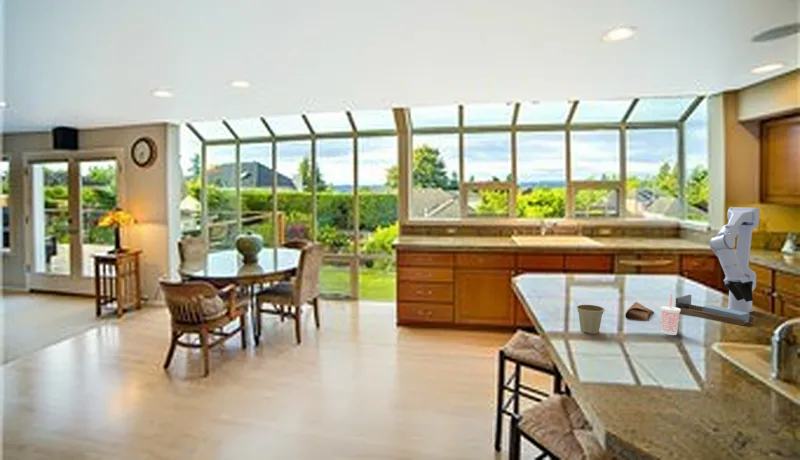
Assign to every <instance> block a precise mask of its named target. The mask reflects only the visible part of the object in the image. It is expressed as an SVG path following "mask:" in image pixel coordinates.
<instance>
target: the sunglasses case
mask: <svg viewBox="0 0 800 460" xmlns="http://www.w3.org/2000/svg"><path fill="white" fill-rule="evenodd" d="M654 312H655V311H653V310H652V309H649V308H648V307H645V306H644V305H643V304H642V303H639V302H634V303H633V304H632V305H631V306H630V307H629V308H628V310H627V311H626V312H625V315H624V316H625V319H627V320H636V321H641V322H649V318H650V317H651V316H652V315H653V314H654ZM650 315H651V316H650Z"/></svg>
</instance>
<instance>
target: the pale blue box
mask: <svg viewBox="0 0 800 460" xmlns="http://www.w3.org/2000/svg"><path fill="white" fill-rule="evenodd" d="M701 307H702V312H707V313H712V314H717V315H722V316H727V317H732V318H737V319H742V320H745V324H747V323H750V321H749V316H750V312H749V313H747V312H742V311H737V310H732V309H728V307H722V306H718V305H713V304H709V305H704V306H701Z"/></svg>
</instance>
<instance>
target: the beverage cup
mask: <svg viewBox="0 0 800 460" xmlns="http://www.w3.org/2000/svg"><path fill="white" fill-rule="evenodd" d="M669 298H670V299H669V306H667V305H664V306H660V311H661V333H662V334H664V335H670V336H676V335H677V334H678V327H679V322H680V321H679V319H680V311H681V309H680V308H677V307H676V306H673V305H672V302H673V293H670V297H669Z"/></svg>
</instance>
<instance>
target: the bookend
mask: <svg viewBox="0 0 800 460" xmlns="http://www.w3.org/2000/svg"><path fill="white" fill-rule="evenodd" d="M690 305H692V294H688V295H687V294H685V295H684V296H683V295H682V296H679V297H676V298H675V307H677V308H680V307H681V308H686V309H689V307H690Z"/></svg>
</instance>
